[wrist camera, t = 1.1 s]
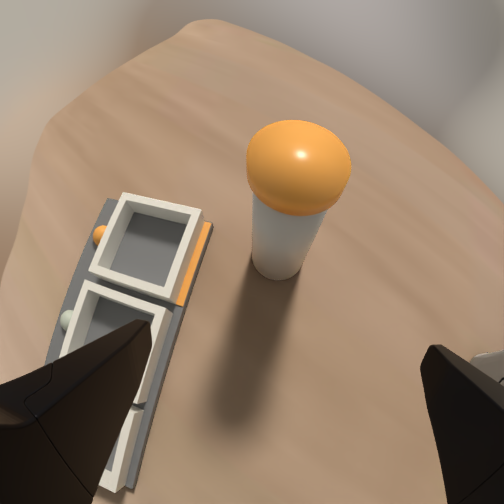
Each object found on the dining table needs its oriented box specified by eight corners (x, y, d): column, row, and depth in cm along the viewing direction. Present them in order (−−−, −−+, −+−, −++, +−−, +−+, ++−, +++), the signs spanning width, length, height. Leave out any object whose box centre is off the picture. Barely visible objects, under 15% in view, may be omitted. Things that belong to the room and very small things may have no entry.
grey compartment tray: (135, 486, 17) (122, 497, 15) (35, 430, 18) (16, 434, 15) (213, 227, 25) (209, 210, 22) (110, 202, 26) (98, 186, 23)
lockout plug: (300, 290, 23) (345, 214, 12) (240, 275, 23) (232, 186, 12) (312, 236, 25) (354, 134, 14) (256, 222, 25) (261, 111, 14)
